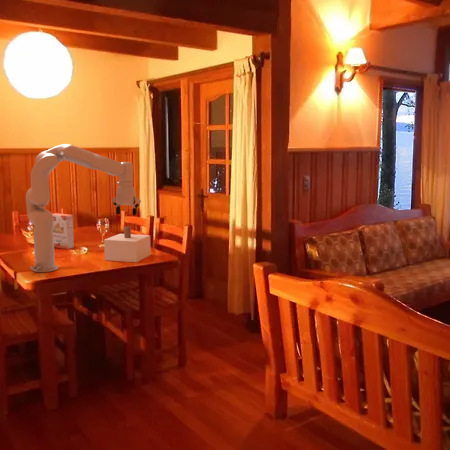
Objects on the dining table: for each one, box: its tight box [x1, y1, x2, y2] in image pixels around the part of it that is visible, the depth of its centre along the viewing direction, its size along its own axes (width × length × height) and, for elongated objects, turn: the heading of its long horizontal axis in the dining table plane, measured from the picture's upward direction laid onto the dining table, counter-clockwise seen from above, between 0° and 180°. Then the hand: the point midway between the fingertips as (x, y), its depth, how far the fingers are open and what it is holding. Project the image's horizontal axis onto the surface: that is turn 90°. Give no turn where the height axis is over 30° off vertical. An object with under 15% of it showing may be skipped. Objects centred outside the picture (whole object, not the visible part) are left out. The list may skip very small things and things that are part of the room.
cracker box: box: [52, 212, 75, 250], centre depth 323 cm, size 14×6×21 cm, turn 62°
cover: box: [103, 226, 152, 263], centre depth 297 cm, size 19×19×18 cm
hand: (126, 214), depth 294 cm, fingers open, 9 cm apart
